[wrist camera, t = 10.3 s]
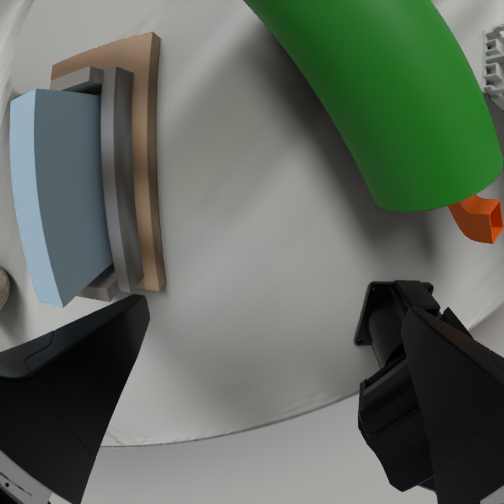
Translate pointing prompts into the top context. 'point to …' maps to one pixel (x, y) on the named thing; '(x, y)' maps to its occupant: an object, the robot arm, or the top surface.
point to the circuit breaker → (493, 65)
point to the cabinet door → (59, 190)
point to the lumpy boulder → (4, 287)
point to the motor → (398, 102)
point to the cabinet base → (124, 157)
